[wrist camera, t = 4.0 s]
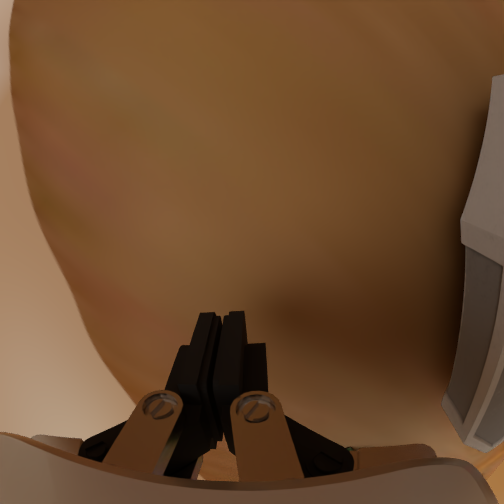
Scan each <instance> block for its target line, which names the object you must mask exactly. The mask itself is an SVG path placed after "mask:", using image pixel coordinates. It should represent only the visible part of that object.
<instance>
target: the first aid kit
mask: <svg viewBox="0 0 504 504" xmlns="http://www.w3.org/2000/svg"><path fill="white" fill-rule="evenodd" d="M460 222H461V243H462V244H464V245H465V284H464V298H463V309H462V318H461V326H460V333H459V339H458V345H457V351H456V356H455V361H454V366H453V371H452V375H451V380H450V382H449V385H448V387H447V389H446V391H445V393H444V395H443V399H442V403H441V406H442V407H443V409H444V411H445V412H446V414H447V416H448V417H449V419H450V421H451V423H452V424H453V426H454V428H455V430H456V431H457V433H458V435H459V437H460V438H461V440H462V442H463V444H465V445H467V446H470V447H472V448H475V449H477V450H479V451H482V452H484V453H487V452H489V451H490V450H492V449H493V448H495V447H496V446H497V445H499V444H500V443H502V442H503V441H504V74H503V75H498V76H493V77H492V88H491V97H490V105H489V112H488V118H487V124H486V129H485V134H484V139H483V144H482V149H481V153H480V157H479V161H478V165H477V169H476V173H475V176H474V180H473V183H472V186H471V190H470V193H469V196H468V199H467V202H466V205H465V208H464V211H463V214H462V217H461V219H460Z"/></svg>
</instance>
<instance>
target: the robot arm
mask: <svg viewBox="0 0 504 504" xmlns="http://www.w3.org/2000/svg"><path fill="white" fill-rule="evenodd" d="M223 432H224V435H225V439H226V441H227V445H228V448H229V451H230V452H231V453H233V454H234V455H235V456H236V461H237V468H238V475H239V481H240V482H228V481H207V480H197V477H198V474H199V471H200V468H201V466H202V463H203V454H205V453H207V452H208V451H210V449H216V446H217V441H222V439H223ZM0 504H499V503H498V501H497V499H496V497H495V495H494V493H493V491H492V490H491V488H490V486H489V485H488V483H487V481H486V480H485V479H484V477H483V476H482V474H481V473H480V472H479V471H478V470H477V469H476V468H475V467H474V466H473V465H472V464H470V463H469V462H467V461H464V460H461V459H456V458H443V457H437V456H436V453H435V451H434V450H433V449H432V448H431V447H430V446H427V445H425V444H409V445H400V446H388V447H370V448H359V451H349V450H347V449H346V448H344V447H343V446H341V445H339V444H337V443H335V442H333V441H331V440H329V439H327V438H325V437H323V436H321V435H319V434H317V433H316V432H314V431H312V430H310V429H308V428H307V427H305V426H303V425H301V424H299V423H298V422H296V421H294V420H292V419H291V418H289V417H287V416H286V415H284V412H283V409H282V406H281V403H280V402H279V400H278V398H276V397H275V396H274V395H273V394H270V393H268V376H267V359H266V343H255V344H248V342H247V333H246V323H245V314H244V311H231V312H229V315H225V316H224V319H223V325H222V321H221V316H216V314H215V312H207V313H200V315H199V318H198V321H197V324H196V327H195V330H194V333H193V336H192V339H191V342H190V345H182V346H180V348H179V351H178V353H177V356H176V359H175V362H174V364H173V367H172V370H171V373H170V376H169V378H168V381H167V384H166V387H165V390H158V391H153V392H151V393H148V394H147V395H145V396H144V397H143V398H142V399H141V400H140V401H139V403H138V404H137V406H136V408H135V409H134V411H133V412H132V414H131V416H130V417H129V419H128V420H127V421H125V422H123V423H121V424H118V425H116V426H114V427H112V428H110V429H108V430H106V431H103V432H101V433H99V434H97V435H95V436H92V437H90V438H88V439H87V440H85V441H83V440H82V439H80V438H67V437H56V436H48V435H36V436H33V437H32V438H28V437H25V436H21V435H17V434H12V433H7V432H0Z"/></svg>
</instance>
